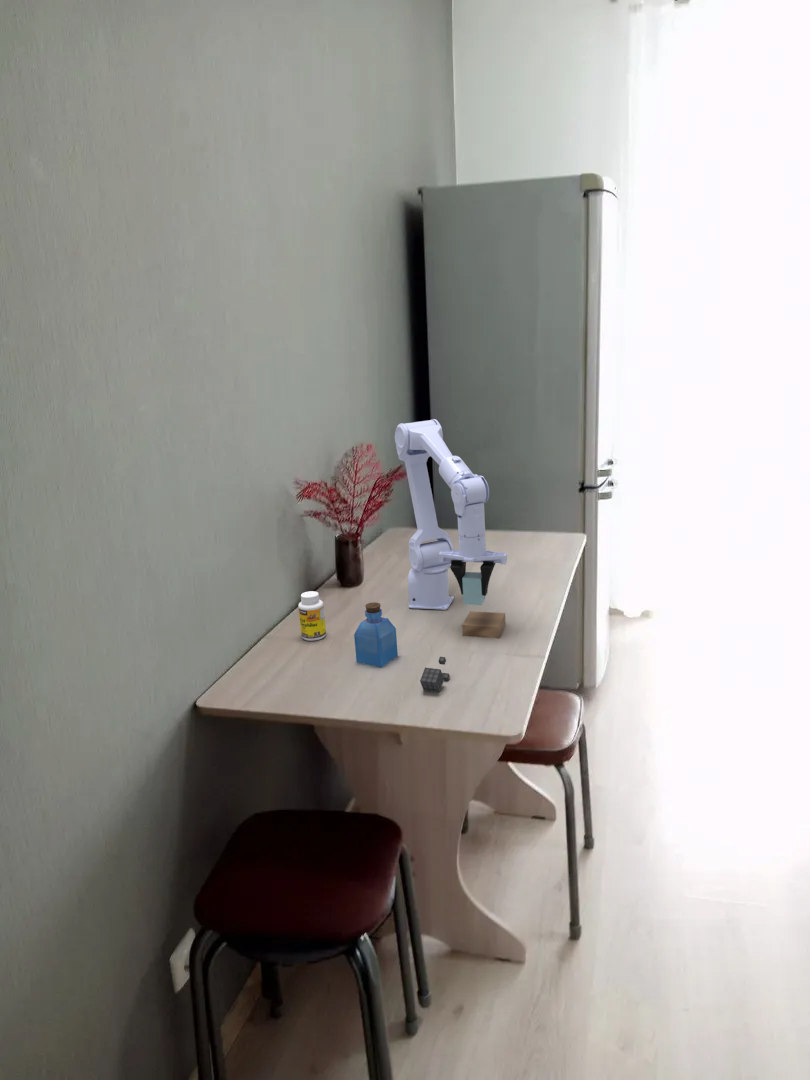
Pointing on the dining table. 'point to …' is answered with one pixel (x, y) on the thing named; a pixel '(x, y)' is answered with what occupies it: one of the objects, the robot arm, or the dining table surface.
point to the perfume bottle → (375, 638)
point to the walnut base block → (483, 624)
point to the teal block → (472, 588)
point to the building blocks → (434, 678)
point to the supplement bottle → (311, 616)
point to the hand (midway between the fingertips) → (474, 593)
